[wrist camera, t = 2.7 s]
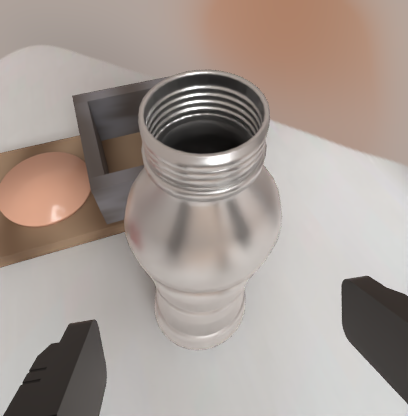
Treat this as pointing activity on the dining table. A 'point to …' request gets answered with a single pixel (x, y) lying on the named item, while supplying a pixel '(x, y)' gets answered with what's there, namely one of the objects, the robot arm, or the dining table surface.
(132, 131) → the wooden organizer tray
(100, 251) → the dining table surface
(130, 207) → the plastic bottle
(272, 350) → the dining table surface
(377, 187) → the dining table surface
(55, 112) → the dining table surface
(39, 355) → the robot arm
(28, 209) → the terracotta coaster
